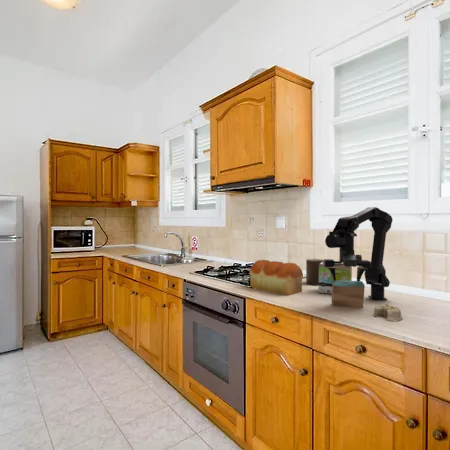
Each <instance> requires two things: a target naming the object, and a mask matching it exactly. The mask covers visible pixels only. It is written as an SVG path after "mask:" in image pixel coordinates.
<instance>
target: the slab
mask: <svg viewBox="0 0 450 450" xmlns="http://www.w3.org/2000/svg"><path fill="white" fill-rule="evenodd" d="M365 287H366V285H365V283H364V282H363V280H360V281H357V280H352V281H336V280H332V294H331V304H332V306H333V307H345V308H346V307H351V308H364V300H365Z"/></svg>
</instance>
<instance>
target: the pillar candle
mask: <svg viewBox="0 0 450 450" xmlns="http://www.w3.org/2000/svg"><path fill="white" fill-rule="evenodd" d="M323 260H324V259H320V258H319V259H317V258H308V259H306V260H305V261H306V264H305V265H306V267H305V268H306V269H305V271H306V274H305V275H306V276H305V279H306V280H305V282H306V284H307V285H312V286H318V283H319V264H320V263H321V262H323Z"/></svg>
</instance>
